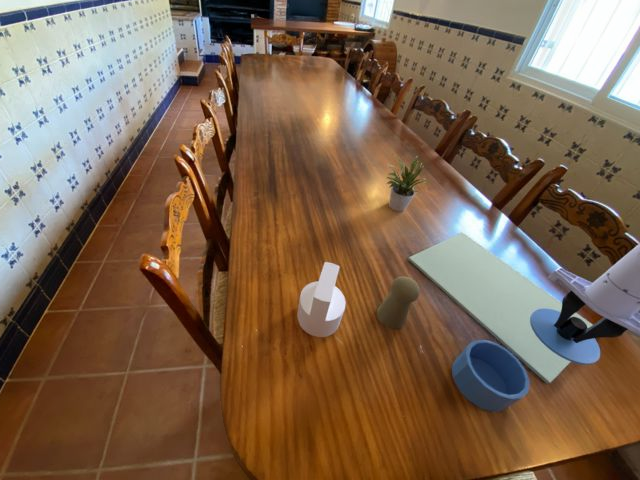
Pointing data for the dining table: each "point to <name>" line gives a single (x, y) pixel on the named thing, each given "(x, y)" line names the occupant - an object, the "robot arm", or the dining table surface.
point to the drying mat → (494, 298)
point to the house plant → (403, 185)
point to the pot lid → (564, 337)
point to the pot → (490, 376)
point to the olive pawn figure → (398, 302)
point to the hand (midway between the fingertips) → (567, 331)
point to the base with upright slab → (322, 304)
